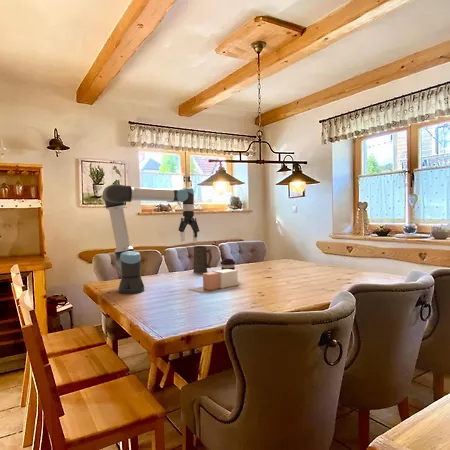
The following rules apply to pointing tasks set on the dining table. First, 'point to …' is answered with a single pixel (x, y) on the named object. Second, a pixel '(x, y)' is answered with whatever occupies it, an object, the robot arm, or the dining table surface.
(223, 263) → the coffee cup
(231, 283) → the cream white block
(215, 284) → the stub
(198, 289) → the board
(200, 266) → the beer stein
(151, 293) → the dining table surface
